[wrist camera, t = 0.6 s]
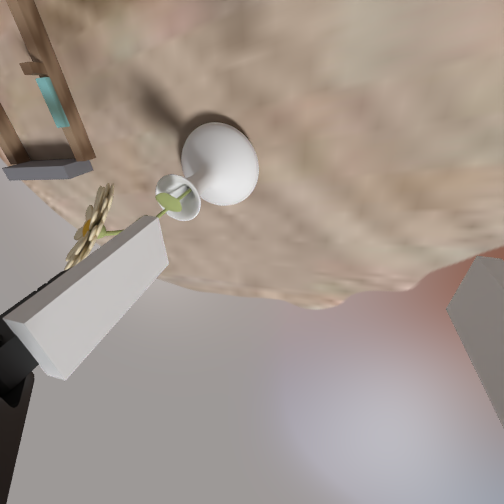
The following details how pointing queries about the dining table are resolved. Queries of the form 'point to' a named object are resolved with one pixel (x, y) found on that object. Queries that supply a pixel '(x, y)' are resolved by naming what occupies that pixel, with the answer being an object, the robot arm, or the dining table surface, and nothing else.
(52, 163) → the end stop
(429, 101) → the dining table surface
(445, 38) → the dining table surface
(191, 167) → the flower in vase
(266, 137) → the dining table surface
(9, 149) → the comb channel
